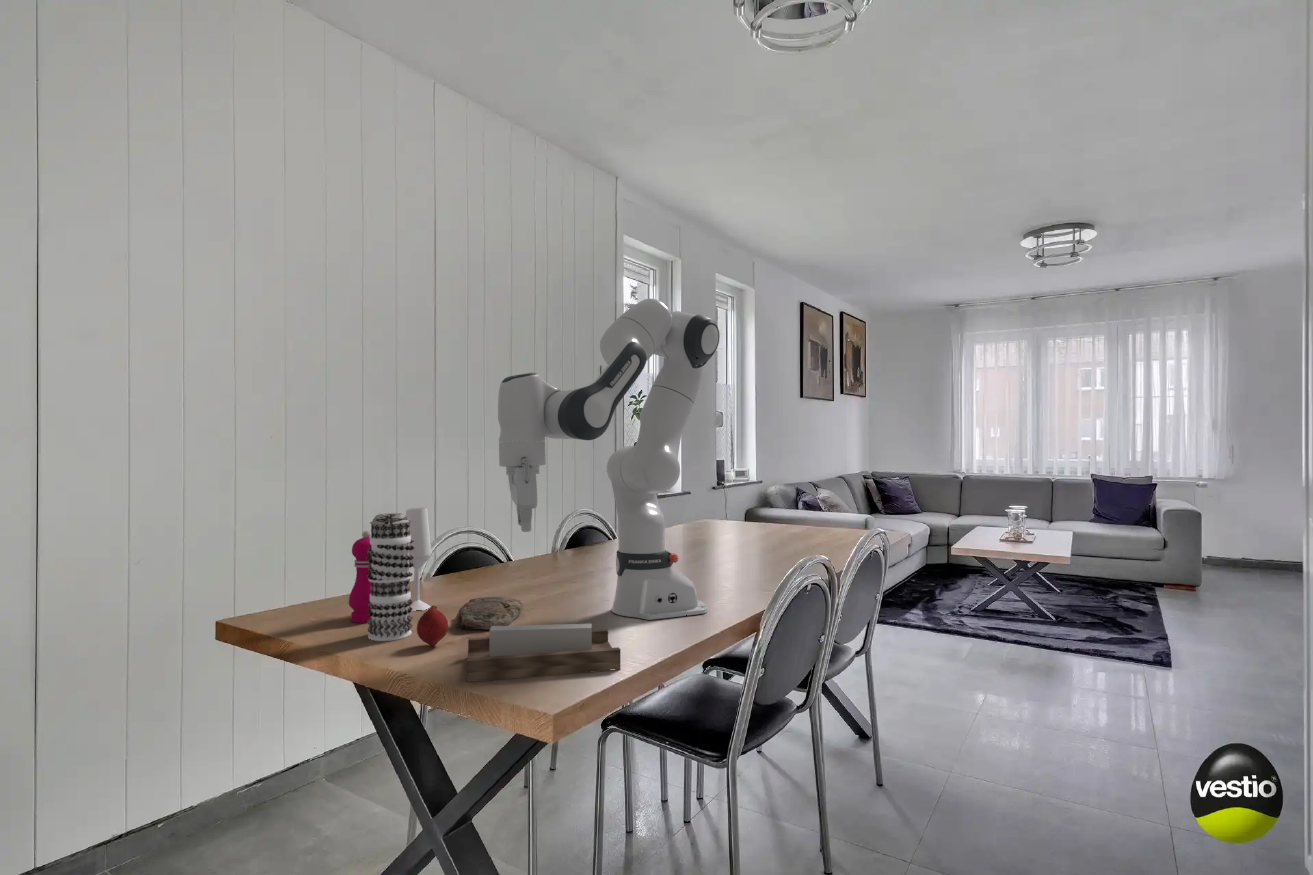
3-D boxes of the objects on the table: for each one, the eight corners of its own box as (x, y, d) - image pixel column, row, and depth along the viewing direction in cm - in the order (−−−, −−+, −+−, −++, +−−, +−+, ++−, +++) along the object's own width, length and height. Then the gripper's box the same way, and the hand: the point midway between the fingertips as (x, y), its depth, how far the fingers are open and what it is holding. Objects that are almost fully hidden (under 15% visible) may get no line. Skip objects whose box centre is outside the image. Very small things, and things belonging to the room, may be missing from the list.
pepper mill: (341, 623, 154) (341, 532, 154) (361, 615, 161) (361, 528, 161) (371, 624, 152) (371, 533, 153) (389, 616, 160) (390, 529, 160)
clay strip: (591, 650, 128) (591, 623, 128) (591, 655, 125) (591, 627, 125) (491, 653, 126) (491, 626, 126) (489, 658, 123) (489, 630, 123)
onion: (431, 651, 132) (431, 609, 132) (410, 647, 135) (410, 606, 135) (454, 644, 137) (454, 603, 137) (433, 640, 140) (433, 600, 140)
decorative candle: (423, 632, 146) (423, 513, 146) (390, 643, 138) (391, 517, 138) (390, 627, 150) (390, 511, 150) (356, 638, 141) (356, 515, 142)
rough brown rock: (500, 635, 145) (529, 611, 165) (500, 612, 145) (529, 590, 165) (436, 635, 146) (472, 610, 166) (435, 612, 146) (472, 590, 166)
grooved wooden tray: (606, 646, 135) (606, 628, 135) (620, 669, 122) (620, 649, 122) (468, 656, 129) (468, 638, 129) (466, 681, 116) (466, 660, 116)
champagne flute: (436, 608, 167) (436, 508, 168) (408, 612, 163) (408, 510, 163) (424, 603, 172) (424, 506, 173) (397, 607, 168) (397, 508, 168)
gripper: (544, 457, 125) (546, 534, 125) (534, 455, 145) (536, 521, 145) (508, 458, 124) (510, 536, 124) (503, 456, 144) (505, 522, 144)
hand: (524, 528), depth 135 cm, fingers open, 8 cm apart
